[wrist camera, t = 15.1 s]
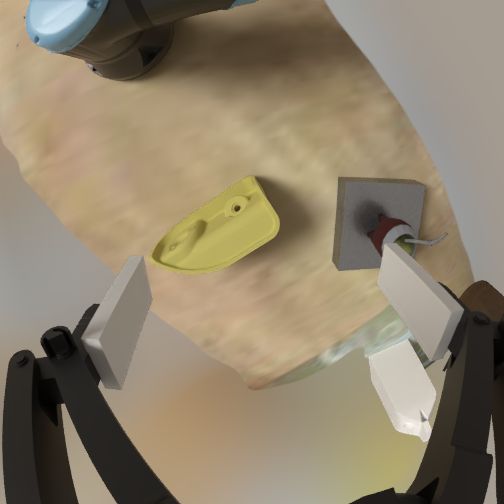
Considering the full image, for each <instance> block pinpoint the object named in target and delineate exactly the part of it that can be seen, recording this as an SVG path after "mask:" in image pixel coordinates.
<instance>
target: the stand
mask: <svg viewBox="0 0 504 504" xmlns="http://www.w3.org/2000/svg"><path fill="white" fill-rule="evenodd" d="M425 187H426V185H424V184H422V183H419V182H417V181H415V180H404V179H385V178H360V177H338V195H337V211H336V224H335V236H334V247H333V257H332V261H333V263H334V264H335V266H336V267H337V269H338V271H344V270H357V269H370V268H381V262H382V257H381V256H380V254H379V253H378V252H377V250H376V249H375V246H374V245H373V243H372V242H371V239H370V237H368V236H367V232H370V231H372V230H375V229H376V227H377V226H378V224H379V220H378V214H379V213H382V214H383V216H386V217H388V218H396V219H401V220H403V221H405V222H406V223H408V224H409V225H410V226H411V227H412V228H413V230H414V232H415V233H416V237H417V239H418V233H419V228H420V222H421V216H422V209H423V202H424V195H425ZM414 254H415V253H414ZM414 254H413V256H412V258H414Z"/></svg>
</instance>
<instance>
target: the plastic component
mask: <svg viewBox="0 0 504 504" xmlns="http://www.w3.org/2000/svg"><path fill="white" fill-rule="evenodd" d="M238 206H240V207H241V209H240V210H239V211H238V212H236V211H235V208H237V207H238ZM279 227H280V221H279V218H278V215H277V213H276V212H275V210H274V209H273V207H272V205H271V204H270V202H269V201H268V199H267V197H266V195H265V192H264V190H263V188H262V187H261V185H260V184H259V182H258V181H257V179H256V178H255V176H254V175H250V176H248V177H246V178H244V179H242V180H241V181H239V182H238V183H236V184H235V185H233V186H232V187H230V188H229V189H227V190H226V191H224V192H223V193H221V194H220V195H218V196H217V197H215V198H214V199H212V200H211V201H209V202H208V203H207V204H205V205H204V206H202V207H201V208H199V209H198V210H197V211H195V212H194V213H192V214H191V215H189V216H188V217H187V218H185V219H184V220H183V221H181V222H180V223H179V224H177V225H176V226H175V227H173V228H172V229H171V230H170V231H169V232H167V233H166V234H165V235H164V236H163V237H162V238H161V239H160V240H159V242H158V243H157V244H156V245H155V247H154V248H153V250H152V252H151V254H150V256H149V260H150V261H151V262H152V263H153V264H154V265H156V266H158V267H160V268H163V269H166V270H168V271H172V272H177V273H183V274H202V273H209V272H213V271H217V270H220V269H222V268H225V267H227V266H229V265H231V264H233V263H234V262H236V261H238V260H239V259H241V258H242V257H244V256H246V255H247V254H249V253H250V252H252V251H254V250H255V249H257V248H258V247H260V246H262V245H263V244H265V243H266V242H268V241H270V240H271V239H273V238H274V237H275V236H276V235H277V233H278V231H279Z"/></svg>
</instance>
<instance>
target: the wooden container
mask: <svg viewBox="0 0 504 504" xmlns="http://www.w3.org/2000/svg"><path fill="white" fill-rule="evenodd" d="M460 300H461V301H462V302H463V303H464V305H465V306H466V307H467V308H468V309H469V310H470V311H471V312H472V311H479V312H482V313H484V314H486V315H487V316H488V317H489V318H490V319H491V321H500V320H501V318H502V316H503V314H504V296H503V295H502V294H501V293H499V292H498V291H497V290H496V289H495V288H494V287H493V286H492V285H490V284H489V283H488V282H487V281H483V280H481V281H478V282H476V283H474V284H473V285H471V286H470V287H469V288H468V289H467V290H466V291H465V292H464V293H463V295H462V296H461V298H460Z"/></svg>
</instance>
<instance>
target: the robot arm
mask: <svg viewBox="0 0 504 504" xmlns="http://www.w3.org/2000/svg"><path fill="white" fill-rule="evenodd" d="M256 1H258V0H31V1H30V3H29V6H28V9H27V14H26V29H27V33H28V35H29V37H30V39H31V40H32V41H33V42H34V43H35V44H36V45H38V46H40V47H43V48H45V49H47V50H48V51H50V52H52V53H59V54H63V55H67V56H71V57H75V58H79V59H83V60H85V62H86V64H87V65H88V67H89V68H90V69H91V70H92V71H93V72H94V73H96V74H97V75H99V76H101V77H104V78H108V79H112V80H128V79H132V78H135V77H138V76H140V75H142V74H144V73H146V72H148V71H149V70H151V69H152V68H153V67H154V66H156V65H157V64H158V63H159V62H160V61H161V59H162V58H163V57H164V56H165V54H166V52H167V51H168V49H169V47H170V44H171V42H172V38H173V23H172V22H173V21H176V20H180V19H183V18H187V17H191V16H195V15H199V14H203V13H208V12H212V11H217V10H229V9H231V8H234V7H236V6H240V5H245V4H251V3H255V2H256ZM377 286H378V288H379V289H380V290H381V292H382V293H383V294H384V296H385V297H386V298H387V300H388V301H389V302H390V304H391V305H392V307H393V308H394V309H395V311H396V312H397V313H398V315H399V316H400V318H401V319H402V320H403V322H404V323H405V325H406V326H407V328H408V329H409V330H410V332H411V333H412V335H413V336H414V338H415V339H416V341H417V342H418V344H419V345H420V347H421V348H422V350H423V351H424V353H425V354H426V356H427V357H428V359H429V360H430V362H432V361H435V360H438V359H441V358H443V357H444V355H445V353H446V351H447V349H449V350H450V352H451V355H450V358H449V359H448V361H447V363H446V365H445V367H444V369H443V371H445V370H446V369H447V371H446V377H445V381H444V387H443V391H442V395H441V399H440V404H439V407H438V411H437V415H436V419H435V422H434V426H433V429H432V433H431V436H430V439H429V442H428V445H427V448H426V451H425V454H424V457H423V460H422V462H421V465H420V468H419V470H418V473H417V475H416V478H415V480H414V481H413V483H412V485H411V486H410V488H409V489H408V490H407V492H406V493H395V491H394V488H390V489H387V490H384V491H381V492H377V493H374V494H371V495H367V496H364V497H362V498H360V499H358V500H356V501H354V502H352V503H350V504H483V503H484V499H485V495H486V492H487V488H488V483H489V478H490V474H491V469H492V464H493V456H492V454H487V452H486V449H487V443H488V437H489V430H490V421H491V414H492V422H493V430H494V441H495V455H496V456H495V458H496V497H497V504H504V314H503V316H502V318H501V320H500V321H491V319H490V318H489V317H488V316H487V315H486V314H484V313H482V312H479V311H472V312H471V311H470V310H469V309H468V308H467V307H466V306H465V305H464V303H463V302H462V301H461V300H460V299H459V298H457V296H456V295H455V294H454V293H452V291H451V290H450V289H449V288H448V287H447V286H445V285H443V284H442V283H440V282H437V281H436V280H435V279H434V278H433V277H432V276H431V275H430V274H429V273H428V272H427V271H426V270H425V269H424V268H423V267H421V266H420V265H419V264H418V263H417V262H416V261H415V260H414V259H413V258H412V257H411V256H410V255H409V254H408V253H406V252H405V251H404V250H403V249H402V248H401V247H400V246H399V245H398V244H397V243H385V245H384V251H383V257H382V262H381V268H380V273H379V278H378V283H377ZM152 300H153V298H152V294H151V290H150V285H149V281H148V276H147V271H146V267H145V262H144V257H143V256H130V257H129V259H128V260H127V262H126V263H125V265H124V266H123V268H122V270H121V271H120V273H119V274H118V276H117V277H116V279H115V281H114V282H113V284H112V286H111V287H110V289H109V290H108V292H107V294H106V295H105V297H104V299H103V300H102V302H101V304H93V305H92V306H91V307H90V308H88V309H87V310H86V311H85V313H84V315H83V316H82V319H81V320H80V321H79V323H78V325H77V326H76V328H75V330H74V331H73V333H72V334H71V332H70V330H69V329H68V328H67V327H64V326H57V327H53V328H51V329H49V330H47V331H46V332H45V333H44V334H43V335H42V338H41V345H42V347H43V349H44V351H45V353H46V354H47V356H48V357H43V358H35V356H34V354H33V353H32V352H31V351H29V350H21V351H19V352H17V353H15V354H14V355H13V356H12V358H11V359H10V361H9V365H8V372H7V379H6V388H5V398H4V410H3V434H2V438H3V439H2V450H3V474H4V485H5V495H6V503H7V504H79V503H78V500H77V496H76V492H75V488H74V484H73V479H72V475H71V470H70V465H69V460H68V455H67V448H66V442H65V436H64V428H63V420H62V410H61V404H63V403H65V405H66V408H67V410H68V412H69V415H70V417H71V420H72V422H73V424H74V426H75V428H76V431H77V433H78V435H79V437H80V439H81V441H82V443H83V445H84V447H85V449H86V451H87V453H88V455H89V457H90V459H91V461H92V463H93V464H94V466H95V468H96V470H97V472H98V473H99V475H100V477H101V478H102V480H103V482H104V483H105V485H106V487H107V488H108V490H109V492H110V493H111V494H112V496H113V498H114V499H115V501H116V502H117V504H180V503H179V502H178V501H177V499H176V498H175V497H174V496H173V495H172V494H171V493H170V491H169V490H168V489H167V488H166V487H165V486H164V484H163V483H162V482H161V481H160V479H159V478H158V477H157V476H156V474H155V473H154V472H153V470H152V469H151V468H150V467H149V465H148V464H147V463H146V461H145V460H144V459H143V457H142V456H141V454H140V453H139V452H138V450H137V449H136V447H135V446H134V445H133V443H132V442H131V440H130V439H129V437H128V436H127V434H126V433H125V431H124V430H123V428H122V427H121V425H120V423H119V422H118V420H117V419H116V417H115V416H114V414H113V412H112V410H111V409H110V407H109V406H108V404H107V402H106V400H105V399H104V397H103V395H102V393H101V391H100V390H99V388H98V384H99V382H100V379H101V381H102V383H103V385H104V387H105V388H108V389H118V390H121V389H122V387H123V384H124V381H125V378H126V375H127V371H128V368H129V365H130V362H131V359H132V356H133V353H134V350H135V347H136V344H137V341H138V338H139V335H140V332H141V330H142V327H143V324H144V321H145V318H146V316H147V313H148V310H149V308H150V305H151V302H152Z"/></svg>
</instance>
